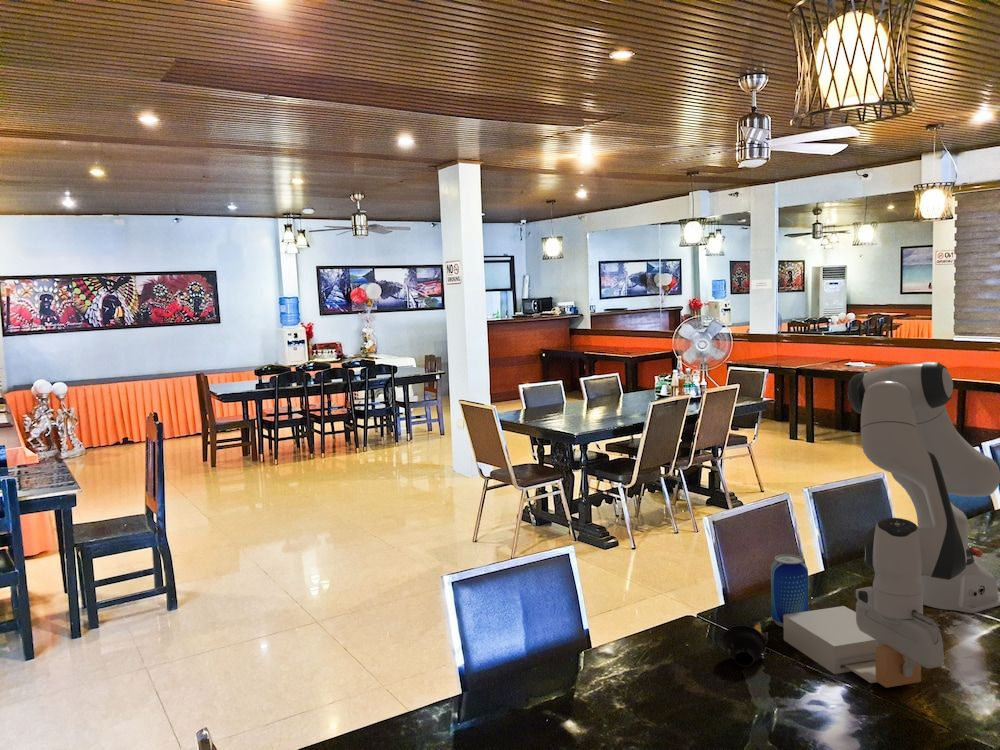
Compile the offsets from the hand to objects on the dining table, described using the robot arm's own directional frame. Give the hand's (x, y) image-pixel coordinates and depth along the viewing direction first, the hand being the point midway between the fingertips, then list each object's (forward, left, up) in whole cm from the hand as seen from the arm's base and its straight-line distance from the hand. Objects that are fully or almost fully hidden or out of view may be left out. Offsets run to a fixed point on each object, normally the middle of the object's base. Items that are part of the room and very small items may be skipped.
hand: (898, 670), depth 154 cm
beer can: (+1, -35, -4) cm, 35 cm away
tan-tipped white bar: (0, -10, -2) cm, 10 cm away
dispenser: (0, -18, -4) cm, 18 cm away
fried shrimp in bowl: (+19, -23, -4) cm, 30 cm away
